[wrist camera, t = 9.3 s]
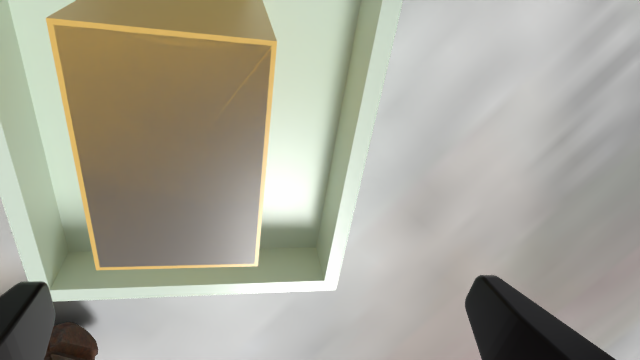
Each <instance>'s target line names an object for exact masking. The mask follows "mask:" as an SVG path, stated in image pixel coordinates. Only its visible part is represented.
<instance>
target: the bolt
mask: <svg viewBox="0 0 640 360" xmlns="http://www.w3.org/2000/svg"><path fill="white" fill-rule="evenodd" d="M97 354H98V347H97V343H96V340H95V339H94V338H93V337H92V336H91V334H90V333H89V332H88V331H86V330H85V329H84V328H82V327H81V326H79V325H77V324H75V323H72V322H66V323H61V324H59V325H56V326H54V327H53V330H52V333H51V336H50V340H49V343H48V347H47V350H46V354H45V357H44V360H95V356H96V355H97Z"/></svg>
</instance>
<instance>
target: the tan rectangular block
mask: <svg viewBox="0 0 640 360" xmlns="http://www.w3.org/2000/svg"><path fill="white" fill-rule="evenodd" d="M46 22H47V27H48V32H49V37H50V42H51V47H52V52H53V57H54V62H55V67H56V72H57V77H58V82H59V87H60V92H61V97H62V102H63V107H64V112H65V117H66V122H67V127H68V132H69V137H70V142H71V147H72V152H73V157H74V162H75V167H76V172H77V177H78V182H79V187H80V192H81V197H82V202H83V207H84V213H85V218H86V223H87V228H88V233H89V238H90V243H91V248H92V253H93V258H94V263H95V268H96V270H131V269H171V268H211V267H251V266H258V259H259V247H260V236H261V224H262V212H263V201H264V189H265V177H266V166H267V154H268V143H269V131H270V119H271V108H272V96H273V84H274V73H275V61H276V49H277V39H276V37H275V34H274V31H273V28H272V25H271V23H270V20H269V17H268V14H267V12H266V9H265V6H264V3H263V0H76V1H74V2H73V3H71V4H69V5H67V6H65V7H64V8H62V9H60V10H58V11H57V12H55V13H53V14H51V15H50V16H48V17H46Z"/></svg>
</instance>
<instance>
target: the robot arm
mask: <svg viewBox="0 0 640 360" xmlns="http://www.w3.org/2000/svg"><path fill="white" fill-rule="evenodd" d="M465 308H466V312H467V315H468V318H469V321H470V324H471V327H472V330H473V334H474V337H475V340H476V343H477V346H478V349H479V352H480V355H481V358H482V360H616V359H614V358H613V357H611V356H610V355H609V354H607V353H606V352H604V351H603V350H601V349H600V348H599V347H597V346H596V345H594V344H593V343H591V342H590V341H589V340H587V339H586V338H584V337H583V336H581V335H580V334H579V333H577V332H576V331H574V330H573V329H572V328H570V327H569V326H567V325H566V324H564V323H563V322H562V321H560V320H559V319H557V318H556V317H554V316H553V315H552V314H550V313H549V312H547V311H546V310H544V309H543V308H542V307H540V306H539V305H537V304H536V303H534V302H533V301H532V300H530V299H529V298H527V297H526V296H524V295H523V294H522V293H520V292H519V291H517V290H516V289H515V288H513V287H512V286H510V285H509V284H507V283H506V282H505V281H503V280H502V279H500V278H499V277H497V276H494V275H480V276H478V277H477V278H476V279H475V281H474V283H473V285H472V287H471V289H470V291H469V293H468V295H467V297H466V300H465ZM54 322H55V308H54V305H53V301H52V298H51V294H50V290H49V287H48V285H47V284H46V283H45V282H42V281H34V282H20V283H18V284H16V285H15V286H13V287H12V288H11V289H9V290H8V291H7V292H5V293H4V294H3V295H1V296H0V360H44V357H45V354H46V350H47V347H48V343H49V340H50V336H51V333H52V330H53V326H54Z"/></svg>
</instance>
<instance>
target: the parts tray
mask: <svg viewBox="0 0 640 360" xmlns="http://www.w3.org/2000/svg"><path fill="white" fill-rule="evenodd" d="M74 1H76V0H0V197H1V200H2V203H3V206H4V209H5V213H6V216H7V219H8V222H9V225H10V228H11V231H12V234H13V237H14V240H15V243H16V246H17V249H18V252H19V255H20V258H21V261H22V264H23V268H24V271H25V274H26V277H27V280H28V282H34V281H42V282H45V283H46V284H47V285H48V287H49V290H50V294H51V298H52V301H53V302H55V301H80V300H105V299H129V298H154V297H179V296H203V295H228V294H253V293H277V292H302V291H327V290H336V287H337V283H338V279H339V274H340V270H341V266H342V262H343V257H344V253H345V249H346V244H347V240H348V236H349V231H350V227H351V223H352V218H353V214H354V210H355V205H356V201H357V197H358V193H359V188H360V184H361V180H362V175H363V171H364V167H365V162H366V158H367V154H368V149H369V145H370V141H371V136H372V132H373V128H374V124H375V119H376V115H377V111H378V106H379V102H380V98H381V93H382V89H383V85H384V80H385V76H386V72H387V67H388V63H389V59H390V54H391V50H392V46H393V42H394V37H395V33H396V29H397V24H398V20H399V16H400V11H401V7H402V3H403V0H263V3H264V6H265V9H266V12H267V14H268V17H269V20H270V23H271V25H272V28H273V31H274V34H275V37H276V39H277V49H276V61H275V73H274V84H273V96H272V108H271V119H270V131H269V143H268V154H267V166H266V177H265V189H264V201H263V212H262V224H261V236H260V247H259V259H258V266H251V267H211V268H171V269H131V270H96V268H95V263H94V258H93V253H92V248H91V243H90V238H89V233H88V228H87V223H86V218H85V213H84V207H83V202H82V197H81V192H80V187H79V182H78V177H77V172H76V167H75V162H74V157H73V152H72V147H71V142H70V137H69V132H68V127H67V122H66V117H65V112H64V107H63V102H62V97H61V92H60V87H59V82H58V77H57V72H56V67H55V62H54V57H53V52H52V47H51V42H50V37H49V32H48V27H47V22H46V17H48V16H50V15H51V14H53V13H55V12H57V11H58V10H60V9H62V8H64V7H65V6H67V5H69V4H71V3H73V2H74Z"/></svg>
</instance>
